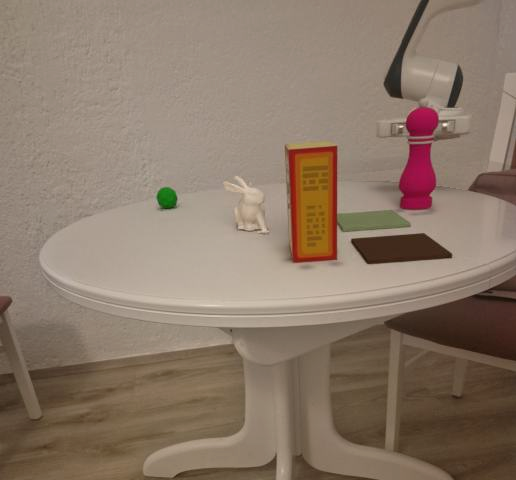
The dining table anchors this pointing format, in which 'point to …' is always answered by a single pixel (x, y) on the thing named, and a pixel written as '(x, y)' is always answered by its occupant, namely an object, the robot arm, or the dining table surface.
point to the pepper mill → (419, 159)
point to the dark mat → (399, 248)
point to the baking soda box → (312, 200)
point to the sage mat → (371, 220)
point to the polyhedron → (167, 198)
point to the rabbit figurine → (248, 206)
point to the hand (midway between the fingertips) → (422, 128)
